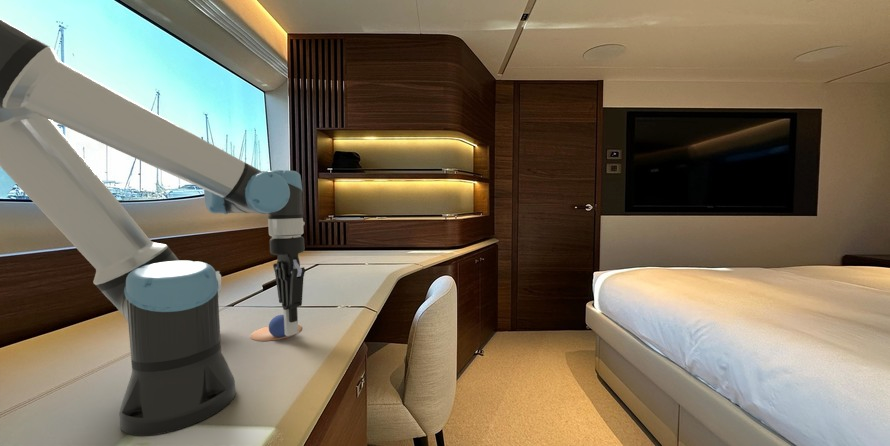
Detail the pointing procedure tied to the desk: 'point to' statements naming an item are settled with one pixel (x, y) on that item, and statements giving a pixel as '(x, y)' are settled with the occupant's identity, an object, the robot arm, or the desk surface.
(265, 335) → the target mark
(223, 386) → the robot arm
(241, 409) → the desk surface
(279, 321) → the ball
